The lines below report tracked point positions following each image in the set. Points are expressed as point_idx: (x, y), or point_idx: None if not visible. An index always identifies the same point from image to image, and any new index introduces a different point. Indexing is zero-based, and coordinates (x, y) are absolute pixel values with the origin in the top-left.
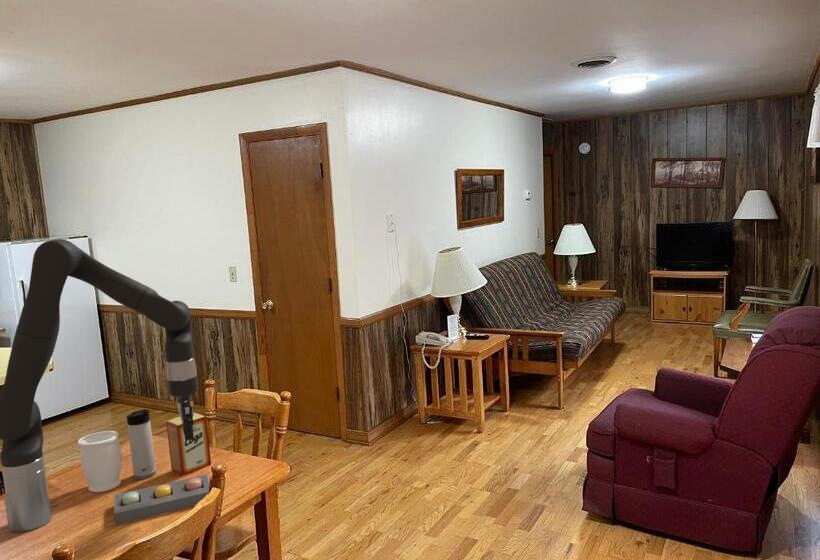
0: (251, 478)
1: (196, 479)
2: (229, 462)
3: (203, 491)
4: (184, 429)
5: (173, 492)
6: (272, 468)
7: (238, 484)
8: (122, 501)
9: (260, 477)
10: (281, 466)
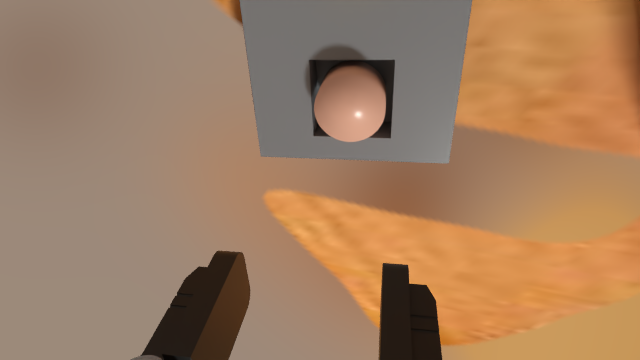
0: None
1: (361, 124)
2: (608, 242)
3: (272, 128)
4: (174, 335)
5: (329, 1)
6: None
7: (370, 227)
8: None
9: None
10: None
